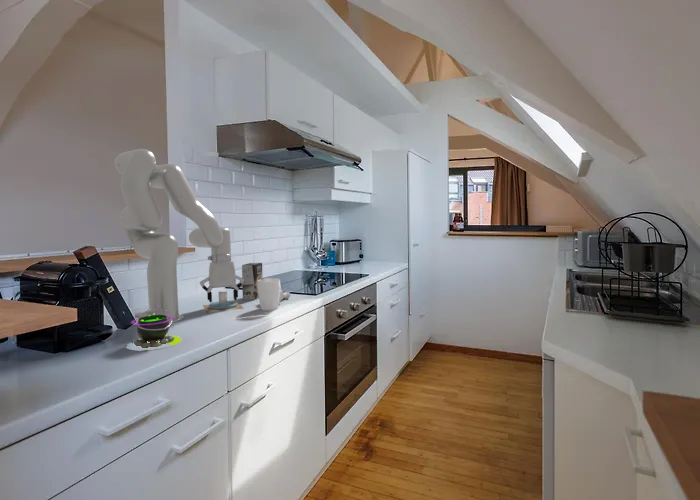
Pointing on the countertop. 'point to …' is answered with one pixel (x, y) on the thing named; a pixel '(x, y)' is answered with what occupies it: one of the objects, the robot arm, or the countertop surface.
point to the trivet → (222, 310)
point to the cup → (269, 293)
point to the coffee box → (251, 280)
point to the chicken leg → (283, 295)
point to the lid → (222, 302)
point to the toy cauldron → (154, 331)
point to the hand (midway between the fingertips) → (223, 300)
